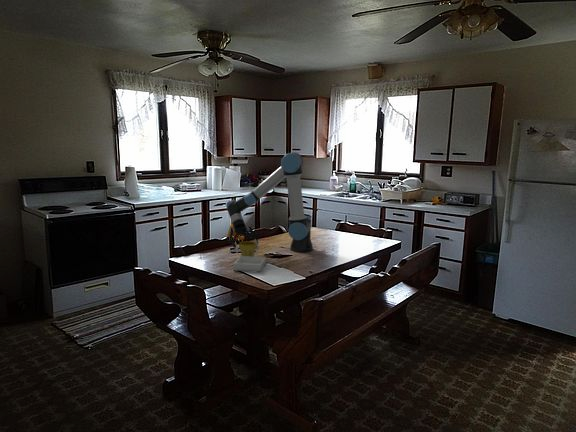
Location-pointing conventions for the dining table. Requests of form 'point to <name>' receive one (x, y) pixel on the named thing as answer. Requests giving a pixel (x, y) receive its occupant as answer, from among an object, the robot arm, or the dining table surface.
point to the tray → (249, 263)
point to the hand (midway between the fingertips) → (248, 250)
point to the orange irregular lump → (235, 234)
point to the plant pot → (247, 248)
